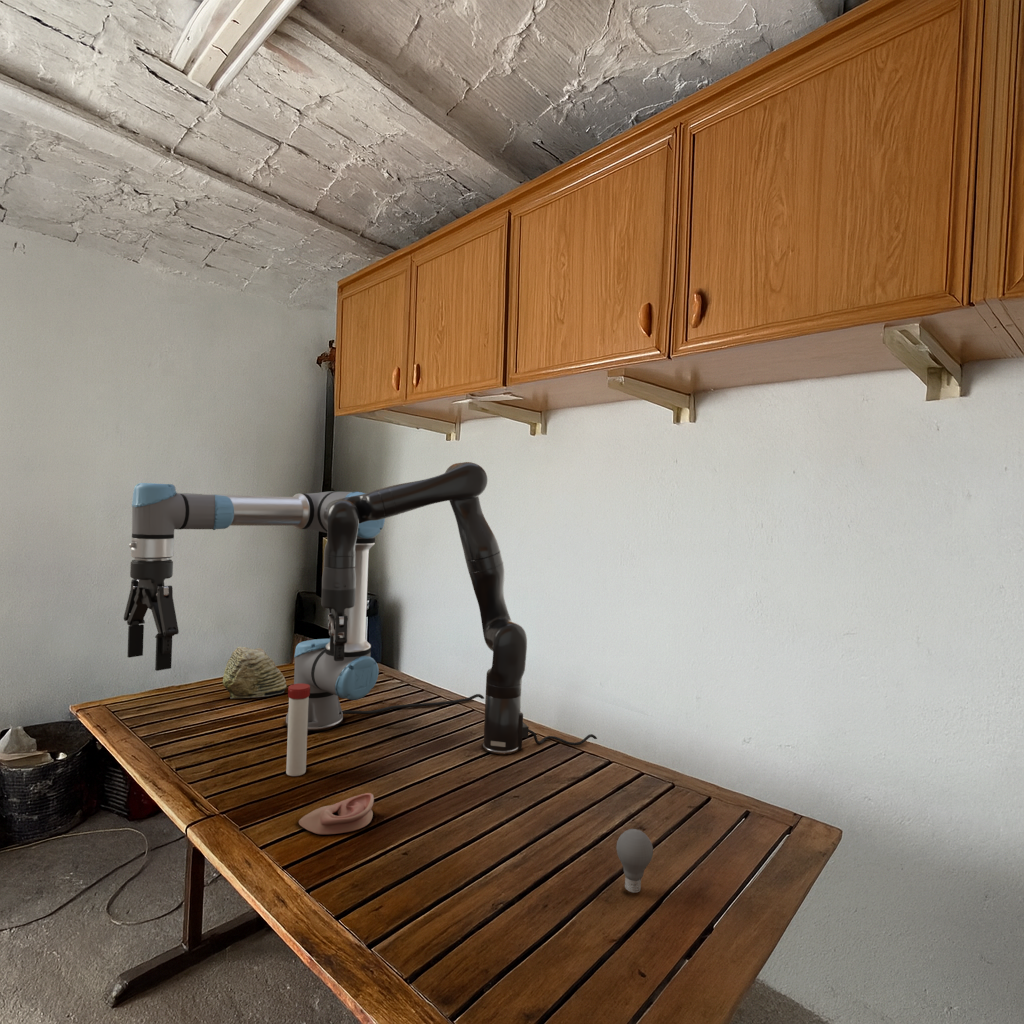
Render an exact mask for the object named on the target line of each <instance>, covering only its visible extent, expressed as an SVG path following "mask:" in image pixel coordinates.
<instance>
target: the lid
mask: <svg viewBox="0 0 1024 1024" xmlns="http://www.w3.org/2000/svg"><path fill="white" fill-rule="evenodd" d="M309 695H310V685H308V684H294V683H293V684H290V685H289V686H288V688H287V697H288V699H289V698H292V699H303V698H307V697H309Z"/></svg>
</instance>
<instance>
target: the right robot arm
mask: <svg viewBox="0 0 1024 1024" xmlns="http://www.w3.org/2000/svg"><path fill="white" fill-rule="evenodd" d="M487 486H488V475H487V473H486V471H485V469H484V468H483V467H482V466H481V465H479V464H477V463H475V462H470V461H464V462H463V461H462V462H457V463H453V464H451V465H450V466H449V467H447V469H446V470H445V472H444V473H442V474H438V475H435V476H432V477H429V478H425V479H420V480H414V481H410V482H403V483H398V484H394V485H393V484H392V485H389V486H386V487H381V488H378V489H374V490H370V491H369V492H365V493H366V494H362V495H357V496H351V497H346V498H342V499H337V500H334V501H332V502H330V503H329V504H328V505H327V506H326V508H325V510H324V520H325V522H326V523H327V524H328V530H327V533H326V534H327V535H326V543H325V545H324V548H323V549H324V552H323V570H322V576H321V598H320V599H321V602H320V603H321V605H320V606H321V607H322V608H324V609H328V615H327V620H328V623H327V630H328V635H329V639H330V652H334V660H335V661H343V660H344V649H345V643H347V621H348V616H346V614H345V609H346V608H352V607H354V605H355V589H356V573H355V544H356V539H357V533H358V526H359V523H363V522H366V521H370V520H380V519H384V518H385V519H388V518H391V517H394V516H398V515H401V514H404V513H405V514H406V513H408V512H410V511H414V510H417V509H421V508H423V507H427V506H430V505H434V504H439V503H443V502H449V503H450V507H451V509H452V511H453V515H454V517H455V521H456V525H457V529H458V530H457V531H458V533H459V538H460V542H461V546H462V551H463V555H464V559H465V564H466V567H467V571H468V574H469V578H470V581H471V585H472V589H473V591H474V596H475V598H476V601H477V604H478V609H479V615H480V620H481V627H482V635H483V639H484V642H485V645H486V646H487V648H488V649H489V650H490V651H492V663H491V667H490V668H488V669H487V671H486V675H485V677H486V678H485V697H484V699H485V700H484V701H485V702H484V704H485V705H484V720H483V723H484V725H483V726H484V727H483V741H482V748H483V750H484V751H485V752H487V753H489V754H492V755H493V754H494V755H511V754H514V753H517V752H519V751H522V749H523V739H526V738H529V734H530V735H532V736H533V739H534V742H535V744H536V745H541V744H543V743H544V742H545V741H547V740H556V741H559V742H560V743H563V744H565V745H568V746H580V745H583V744H584V743H586V742H587V741H588V740H589V739H590V738H592V739H594V740H598V737H597V736H596V735H595V734H592V733H590V734H589V733H588V734H587V735H585V737H584V738H582V739H581V740H580V741H576V742H575V741H574V742H572V741H568V740H566V739H563V738H561V737H558V736H555V735H547V736H545V737H543V738H542V739H541V740H538V735H537V734H536V733H535V732H534V731H533V730H532V729H530V727H529V726H528V725H527V723H525V722H524V713H523V712H522V711H521V709H522V708H521V707H522V706H521V704H522V683H523V676H524V674H525V671H526V663H527V652H528V637H527V633H526V630H525V629H524V628H523V626H522V625H520V624H518V623H517V622H515V621H513V619H512V618H511V615H510V613H509V609H508V606H507V603H506V598H505V579H506V570H505V569H506V568H505V564H504V559H503V555H502V552H501V548H500V545H499V542H498V539H497V538H496V536H495V534H494V531H493V530H492V529H491V526H490V525H489V523H488V521H487V520H486V517H485V516H484V513H483V510H482V506H481V501H480V496H481V495H482V494H483V493H484V492H485V490H486V488H487ZM338 635H342V636H343V638H340V636H338Z"/></svg>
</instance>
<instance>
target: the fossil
mask: <svg viewBox="0 0 1024 1024" xmlns="http://www.w3.org/2000/svg"><path fill="white" fill-rule="evenodd" d="M222 676H223V677H222V685H223V687H224V688H225V690H226V691H228V693H229V698H230V699H250V698H264V697H271V696H275V695H281V694H284V693H285V691H286V689H287V687H288V686H287V680H286V678H285V676H284V674H283V673H282V672H281V669H279V668H278V667H277V665H276V663H275V662H274V660H273V659H272V658H271V657H270V656H269V655H268V654H267V653H266V652H265V650H264V649H263V648H260V647H258V648H251V647H247V646H246V647H245V646H238V647H237V648H236V649H235V650H233V651H232V653H231V656H230V657H229V659H228V660H227V663H226V666H225V668H224V671H223V675H222Z"/></svg>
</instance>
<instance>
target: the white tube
mask: <svg viewBox="0 0 1024 1024" xmlns="http://www.w3.org/2000/svg"><path fill="white" fill-rule="evenodd" d="M308 701H309V697H307V698H303V699H292V698H289V697H288V708H289V711H288V710H287V713H288V727H287V738H286V739H287V740H286V741H287V743H286V765H285V766H286V767H285V770H286V771H285V774H286V775H287V776H290V777H299V776H302V775H305V773H306V772H307V752H308V751H307V750H308V749H307V748H308V732H307V727H308Z"/></svg>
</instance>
